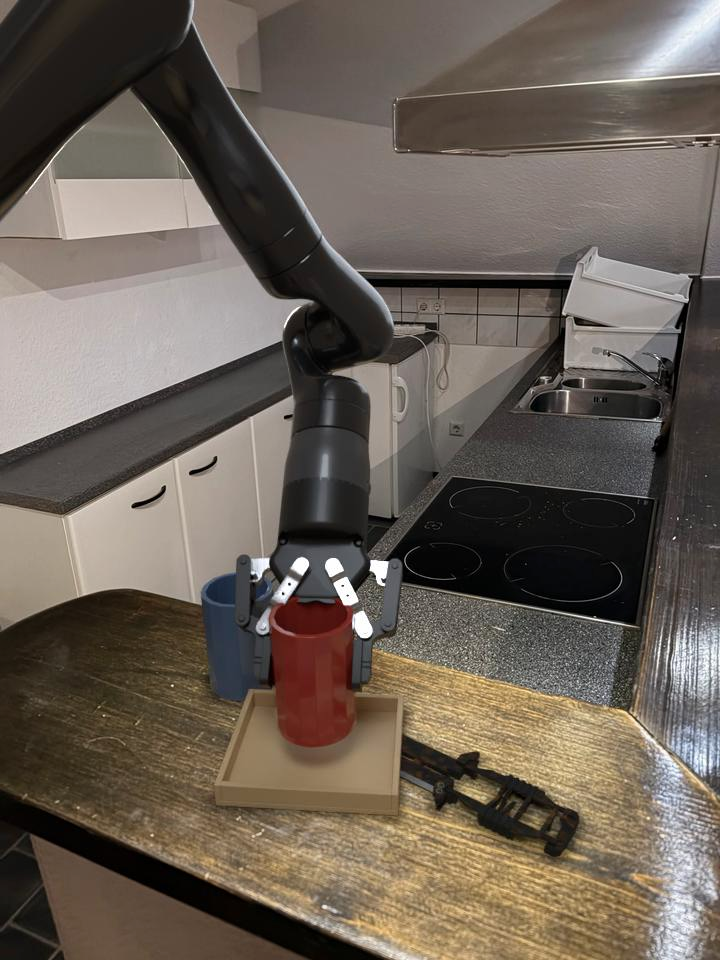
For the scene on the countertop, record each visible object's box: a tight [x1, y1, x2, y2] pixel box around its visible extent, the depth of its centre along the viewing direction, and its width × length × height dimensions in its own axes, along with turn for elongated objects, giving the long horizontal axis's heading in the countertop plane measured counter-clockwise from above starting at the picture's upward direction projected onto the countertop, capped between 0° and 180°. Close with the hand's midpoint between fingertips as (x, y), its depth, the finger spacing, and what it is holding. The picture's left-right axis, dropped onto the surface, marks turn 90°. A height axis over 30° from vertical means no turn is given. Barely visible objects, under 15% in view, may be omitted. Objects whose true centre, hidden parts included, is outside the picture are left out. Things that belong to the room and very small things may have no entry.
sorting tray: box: [213, 689, 405, 817], centre depth 63 cm, size 14×12×2 cm
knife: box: [400, 733, 580, 858], centre depth 62 cm, size 25×6×1 cm, turn 49°
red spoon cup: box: [268, 597, 357, 747], centre depth 61 cm, size 6×6×10 cm
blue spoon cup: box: [200, 572, 275, 702], centre depth 72 cm, size 6×6×10 cm
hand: (311, 688), depth 59 cm, fingers closed on red spoon cup, 6 cm apart
